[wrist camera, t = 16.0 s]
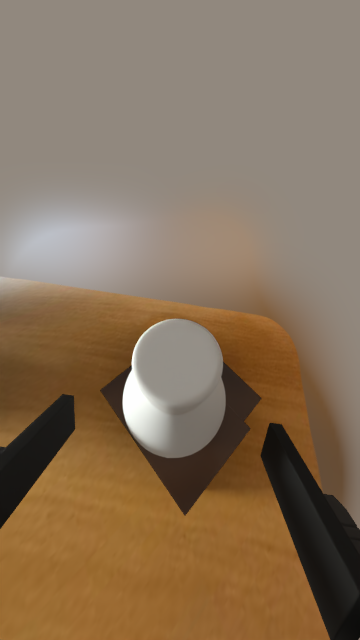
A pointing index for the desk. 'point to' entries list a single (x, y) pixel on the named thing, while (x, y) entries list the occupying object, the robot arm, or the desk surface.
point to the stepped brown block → (201, 467)
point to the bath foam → (175, 389)
